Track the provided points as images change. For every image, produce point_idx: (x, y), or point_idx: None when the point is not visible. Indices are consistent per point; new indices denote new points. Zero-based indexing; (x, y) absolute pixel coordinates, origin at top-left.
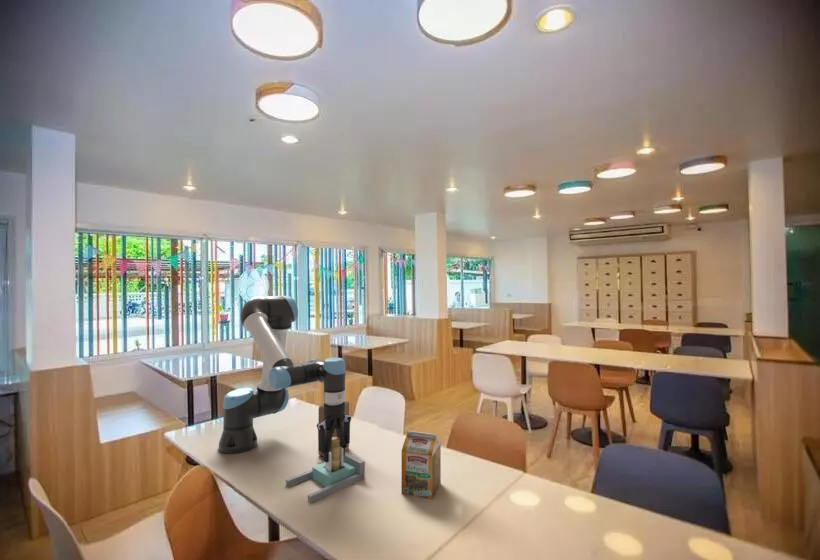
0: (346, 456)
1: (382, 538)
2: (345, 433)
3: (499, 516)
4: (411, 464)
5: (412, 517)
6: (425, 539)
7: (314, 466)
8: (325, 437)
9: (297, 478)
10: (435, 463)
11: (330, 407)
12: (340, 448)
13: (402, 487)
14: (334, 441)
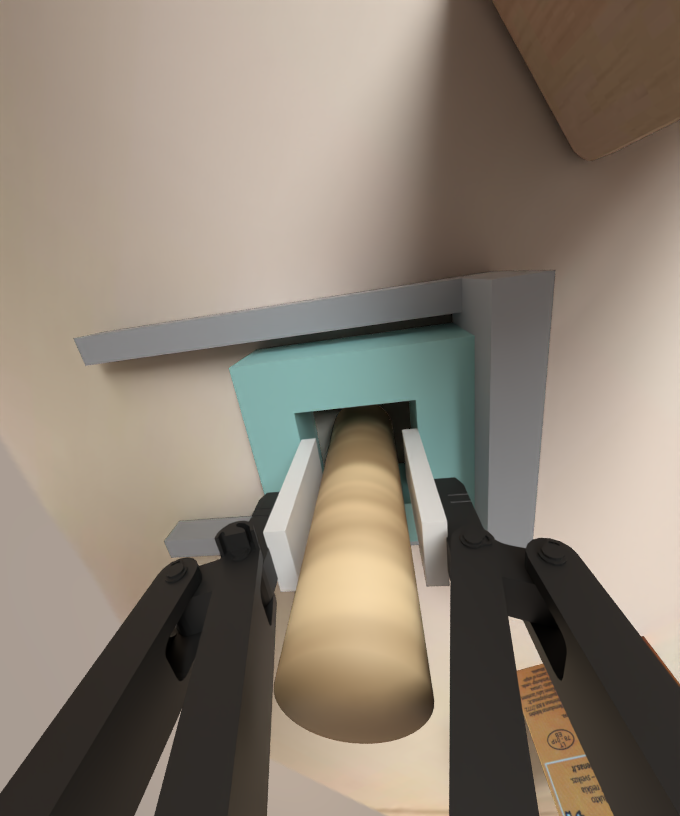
0: (488, 467)
1: (311, 745)
2: (601, 745)
3: None
4: None
5: (432, 745)
6: (393, 789)
7: (244, 369)
8: (181, 735)
9: (148, 355)
10: None
11: None
12: (424, 568)
13: (522, 705)
14: (316, 726)
